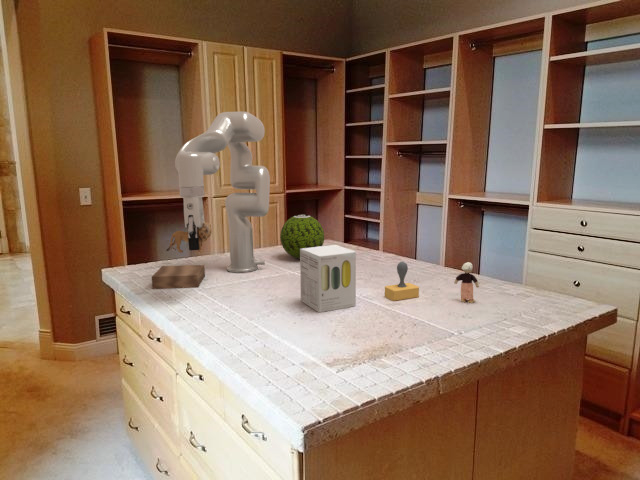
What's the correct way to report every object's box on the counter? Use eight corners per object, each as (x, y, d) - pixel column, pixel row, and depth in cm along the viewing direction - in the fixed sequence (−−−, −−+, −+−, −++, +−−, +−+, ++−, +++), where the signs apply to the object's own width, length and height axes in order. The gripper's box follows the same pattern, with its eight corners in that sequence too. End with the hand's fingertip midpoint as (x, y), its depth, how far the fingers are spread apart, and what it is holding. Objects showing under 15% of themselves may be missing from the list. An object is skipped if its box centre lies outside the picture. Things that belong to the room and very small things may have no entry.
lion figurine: (211, 247, 156) (210, 221, 155) (213, 250, 151) (212, 223, 150) (165, 251, 152) (163, 223, 150) (166, 254, 147) (164, 226, 145)
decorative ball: (324, 263, 202) (324, 217, 199) (278, 263, 203) (277, 217, 199) (324, 253, 222) (324, 211, 218) (282, 253, 222) (281, 212, 218)
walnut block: (205, 277, 183) (204, 264, 182) (198, 288, 167) (197, 275, 167) (163, 278, 182) (162, 266, 181) (152, 290, 166) (151, 276, 165)
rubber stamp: (408, 292, 159) (409, 258, 157) (419, 297, 154) (420, 261, 152) (384, 296, 155) (384, 261, 153) (393, 301, 150) (394, 265, 147)
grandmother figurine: (478, 300, 150) (480, 261, 147) (478, 304, 146) (480, 264, 144) (453, 298, 152) (455, 260, 150) (452, 301, 149) (454, 262, 146)
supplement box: (318, 313, 139) (318, 256, 136) (300, 301, 151) (299, 248, 148) (356, 306, 145) (356, 251, 142) (335, 295, 157) (335, 244, 154)
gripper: (200, 194, 141) (203, 253, 144) (207, 189, 157) (210, 243, 161) (174, 195, 140) (178, 254, 143) (184, 190, 156) (188, 243, 160)
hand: (195, 247), depth 152 cm, fingers closed on lion figurine, 4 cm apart
